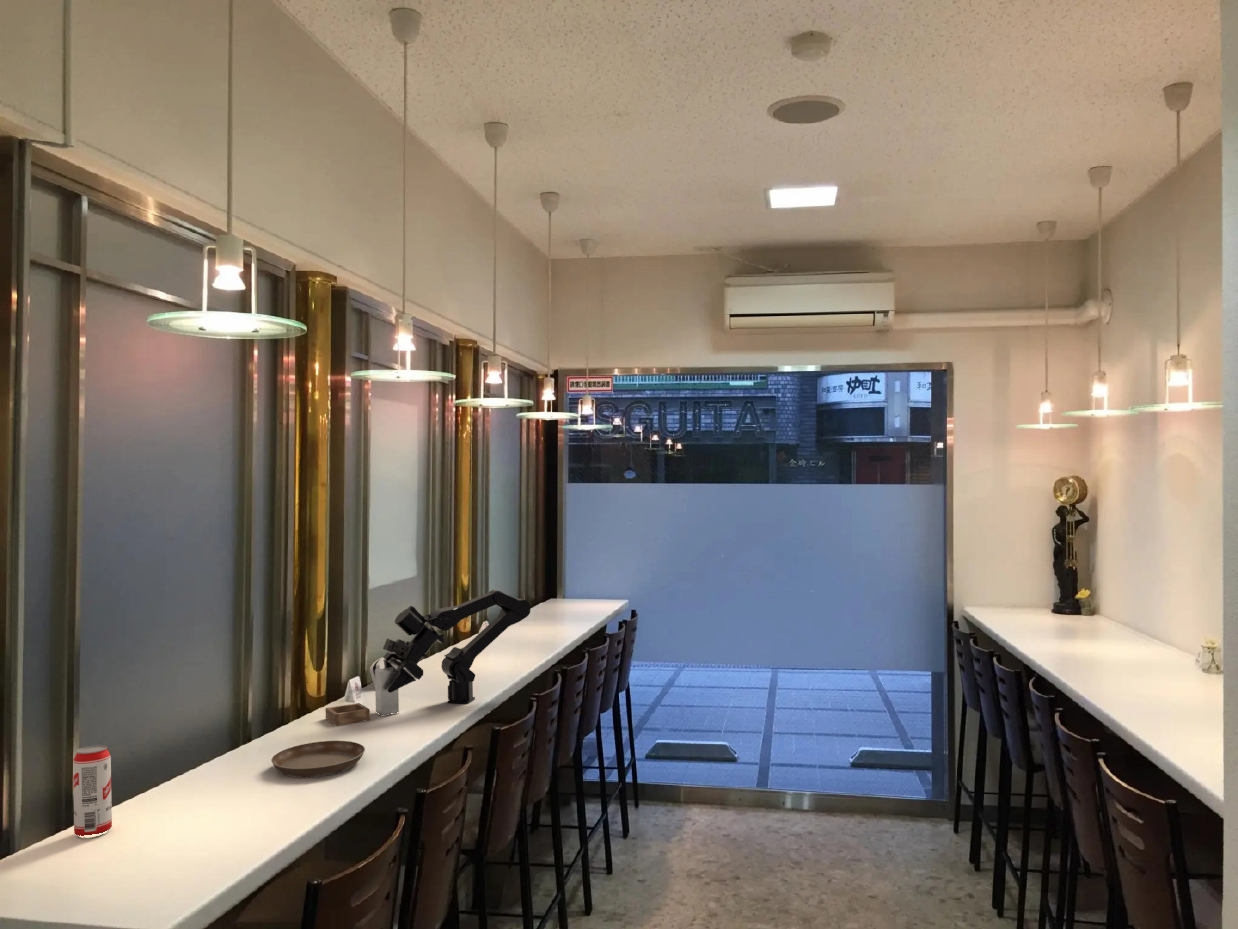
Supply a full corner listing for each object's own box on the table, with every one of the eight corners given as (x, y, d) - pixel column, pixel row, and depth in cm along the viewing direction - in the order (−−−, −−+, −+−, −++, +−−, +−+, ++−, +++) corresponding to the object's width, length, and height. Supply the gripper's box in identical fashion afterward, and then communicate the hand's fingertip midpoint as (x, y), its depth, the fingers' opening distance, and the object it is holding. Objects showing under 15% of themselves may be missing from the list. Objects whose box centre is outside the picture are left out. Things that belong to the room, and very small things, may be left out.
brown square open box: (359, 713, 266) (359, 703, 266) (369, 720, 258) (369, 709, 258) (325, 718, 261) (325, 708, 261) (335, 725, 253) (335, 714, 253)
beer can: (71, 842, 172) (70, 755, 173) (76, 831, 178) (75, 747, 178) (110, 836, 175) (108, 750, 175) (113, 825, 180) (112, 742, 181)
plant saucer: (327, 785, 203) (327, 770, 203) (251, 777, 210) (251, 762, 210) (383, 758, 222) (382, 744, 222) (311, 751, 229) (311, 738, 229)
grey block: (392, 710, 269) (391, 667, 269) (398, 713, 265) (397, 669, 265) (375, 713, 266) (374, 669, 266) (381, 716, 262) (380, 672, 262)
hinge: (389, 689, 297) (378, 659, 298) (376, 694, 298) (365, 664, 299) (409, 678, 314) (399, 650, 314) (397, 682, 314) (387, 654, 315)
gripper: (389, 624, 276) (353, 666, 270) (411, 631, 260) (373, 676, 254) (415, 648, 280) (380, 690, 274) (439, 656, 264) (402, 701, 258)
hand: (383, 689), depth 265 cm, fingers open, 9 cm apart
